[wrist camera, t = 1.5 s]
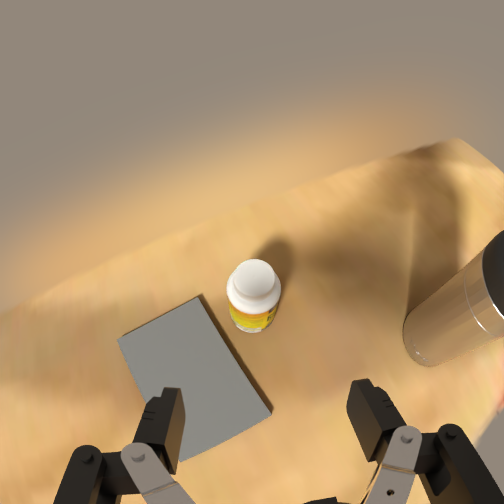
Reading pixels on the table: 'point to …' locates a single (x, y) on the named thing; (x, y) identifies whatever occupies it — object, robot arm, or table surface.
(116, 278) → the table surface
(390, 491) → the robot arm
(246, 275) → the supplement bottle
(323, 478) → the table surface
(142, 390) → the mat
